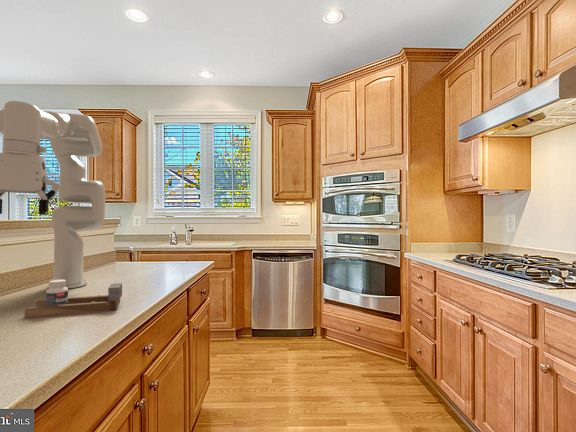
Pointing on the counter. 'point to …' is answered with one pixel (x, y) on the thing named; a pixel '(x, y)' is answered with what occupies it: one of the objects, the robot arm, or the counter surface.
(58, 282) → the pill bottle
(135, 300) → the counter surface
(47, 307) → the beam
